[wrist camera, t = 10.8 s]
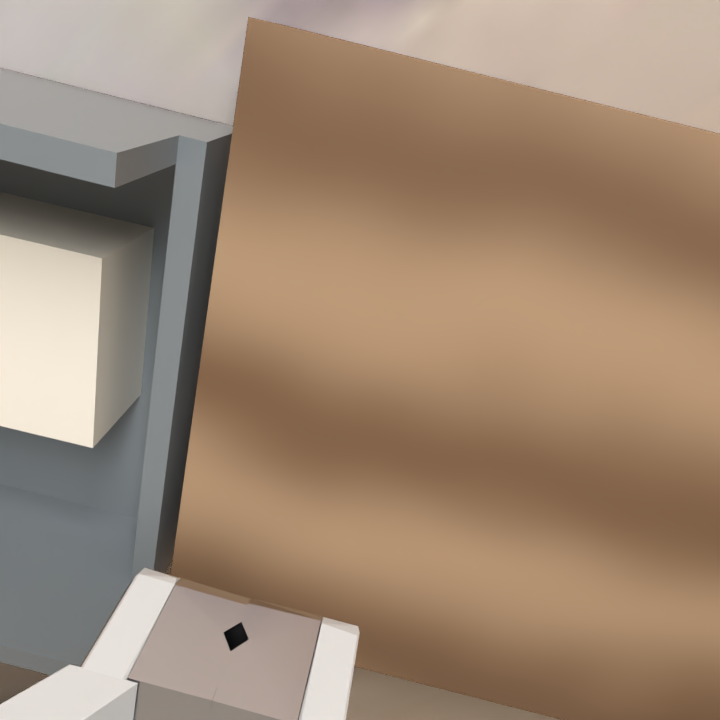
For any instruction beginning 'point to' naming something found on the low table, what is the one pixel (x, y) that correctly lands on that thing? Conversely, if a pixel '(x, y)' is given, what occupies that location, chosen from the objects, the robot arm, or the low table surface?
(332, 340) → the board
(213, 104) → the low table surface
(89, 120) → the tray
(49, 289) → the tile
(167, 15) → the low table surface
